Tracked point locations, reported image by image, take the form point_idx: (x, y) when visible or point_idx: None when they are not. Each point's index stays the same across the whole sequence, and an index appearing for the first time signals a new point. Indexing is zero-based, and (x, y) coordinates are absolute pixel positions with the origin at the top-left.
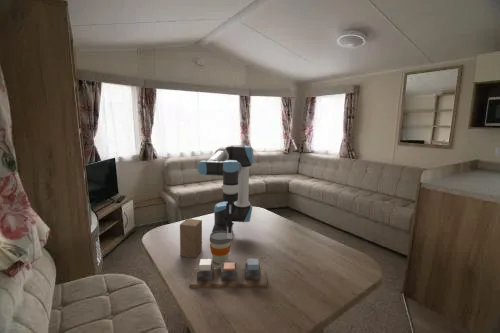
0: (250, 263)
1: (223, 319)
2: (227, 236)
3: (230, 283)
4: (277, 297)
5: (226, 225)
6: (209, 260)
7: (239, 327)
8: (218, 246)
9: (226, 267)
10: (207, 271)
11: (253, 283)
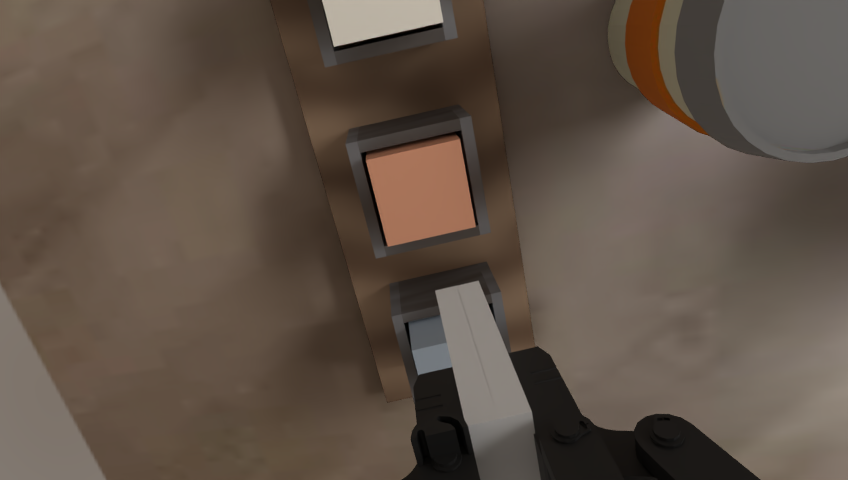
0: (432, 365)
1: (37, 225)
2: (440, 313)
3: (333, 199)
4: (306, 443)
5: (432, 445)
6: (409, 8)
7: (23, 314)
8: (669, 35)
9: (387, 179)
10: (314, 20)
11: (368, 333)
